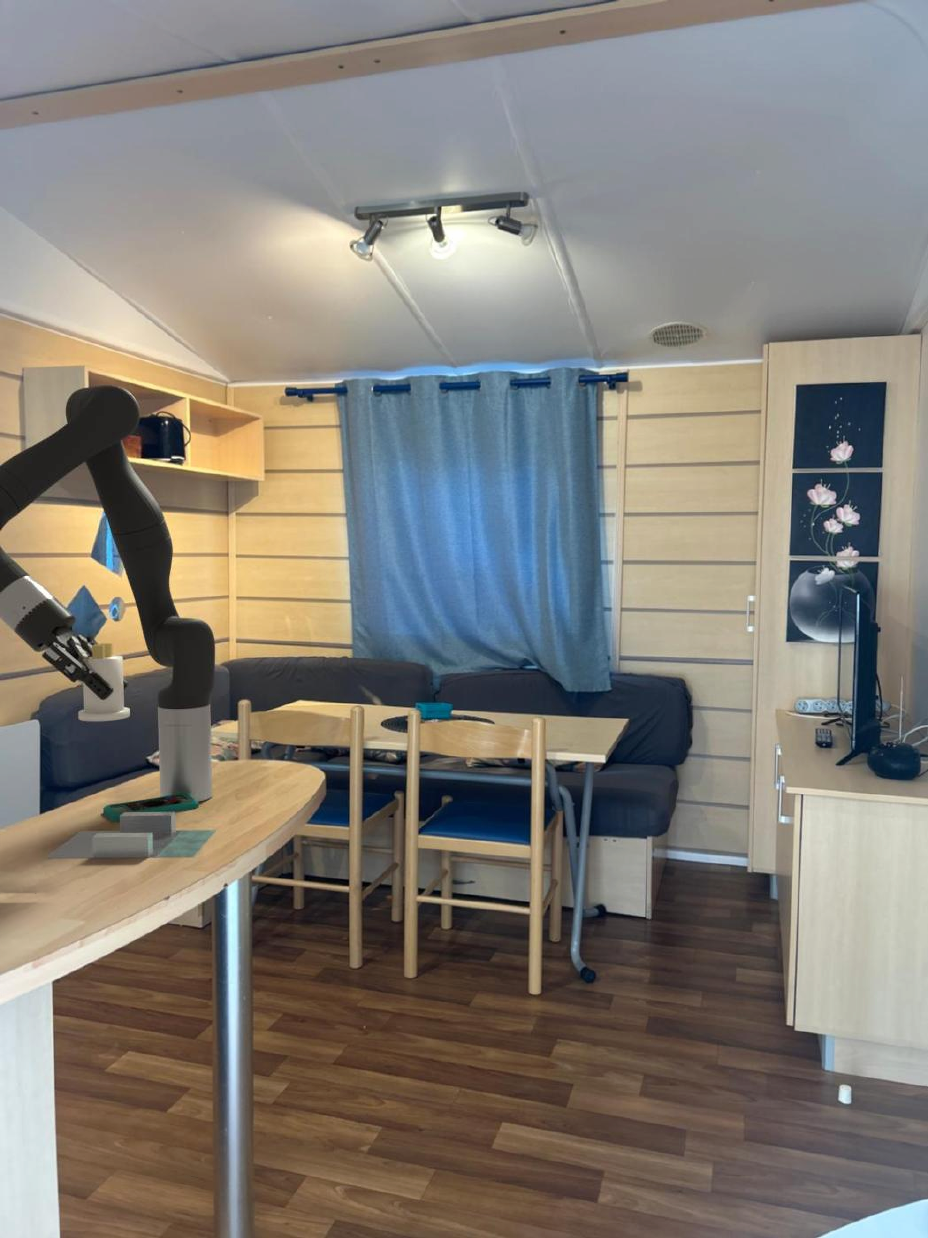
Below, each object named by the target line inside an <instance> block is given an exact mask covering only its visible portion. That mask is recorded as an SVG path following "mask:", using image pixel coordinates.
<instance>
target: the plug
mask: <svg viewBox="0 0 928 1238" xmlns="http://www.w3.org/2000/svg"><path fill="white" fill-rule="evenodd" d="M123 659H124V658H123V656H122V655H113V643H111V642H110V643H109V642H106V643H105V642H103V643H102V642H101V643H99V645H92V656H91V657H89V659H88V663H89V664H90V665H91V667H92V668H93V669H94V670H95V672H94V673H98V674H99V675H100V676H101V677H102V678H103V679H104V680H105V681H106V682H107V683H108V684H109V685H110V686H111V687H112V688H113V689H114V691H113V693H112V694H111V695H110V696H109V697H108V698H107V699H105V700H101V699H100V698H99V697H98V696H97V695H96V694H95V693H94V692H93V691H92V690H91V689H90V688H88V687H87V686H86V685H85V683H84V684H82V688H83V690H82V691H83V692H82V693H83V709H81V710H79V711H78V714H77V715H78V717H77V719H78V720H79V721H83V722H110V721H111V722H112V721H118V720H124V719H127V718H129V717H131V712H130V711H131V709H130V708H129V707H125V696H124V695H125V693H124V692H125V690H124V688H123V678H124V660H123ZM94 673H93V674H94Z"/></svg>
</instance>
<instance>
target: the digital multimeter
mask: <svg viewBox="0 0 928 1238" xmlns="http://www.w3.org/2000/svg"><path fill="white" fill-rule="evenodd" d="M198 808H199V802H197V800H196V799H194V798H193V797H191V796H189V795H187V794H184V793H180V794H174V795H168V796H163V797H160V796H157V797H153V798H146V799H140V800H139V799H138V800H133V801H128V802H127V801H126V802H117V803H113V804H107V805H105V806H104V807H103V808H102V809H103V810H102V811H103V815H104V816H105V817H107V819H108V820H110V821H111V822H113V823H120V815H122V814H123V813H124V812H175V813H176V812H177V813H178V812H183V811H188V810H195V809H198Z"/></svg>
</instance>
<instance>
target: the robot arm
mask: <svg viewBox="0 0 928 1238" xmlns="http://www.w3.org/2000/svg"><path fill="white" fill-rule="evenodd" d="M66 401H67V402H66V406H65V418H66V423H65V424H64V425H63V426H62V427H61V428H59V429H57V430H56V431H55V432H54V433H52V434H50V435H48V436H47V437H45V438H44V439H42V440H40V441H39V442H36V443H35V444H33V445H32V446H29V447H28V448H26V449H24V450H21V452H18V453H17V454H15V455H14V456H12V457H10V458H9V459H7V460H6V461H4V462H3V463H1V464H0V532H1V531H2V530H3V528H4V527H5V526H6V524H8V523H9V521H11V520H13V519H14V518H15V517H16V516H18V515H19V514H20V513H22V512H23V511H24V510H25V509H27V508H28V507H29V506H30V505H31V504H32V503H34V501H35V500H37V499H38V498H39V497H41V495H43V494H44V493H45V492H47V491H48V490H50V488H52V487H53V486H54V485H55V484H57V483H58V482H59V481H60V480H62V479H63V478H64V477H66V476H68V474H69V473H71V472H72V471H74V470H75V469H76V468H78V467H79V466H81V465H82V464H84V463H85V465H86V466H87V469H88V471H89V473H90V476H91V478H92V481H93V483H94V487H95V490H96V493H97V496H98V498H99V501H100V504H101V507H102V510H103V512H104V514H105V518H106V520H107V521H106V522H107V524H108V526H109V530H110V533H111V536H112V539H113V541H114V542H113V543H114V544H115V547H116V550H117V553H118V556H119V558H120V560H121V563H122V565H123V568H124V571H125V574H126V578H127V581H128V583H129V586H130V590H131V592H132V595H133V598H134V601H135V605H136V608H137V612H138V613H137V614H138V617H139V621H140V626H141V630H142V635H143V638H144V641H145V645H146V648H147V651H148V654H149V655H150V657H151V658H152V660H153V661H154V662H155V663H157V665H160V666H163V667H166V668H172V676H171V678H172V679H171V682H170V684H169V685H168V686H166V687H164V688H161V689H160V690H159V691H158V692H157V718H158V719H157V721H158V752H159V753H158V757H159V758H158V759H159V794H160V795H159V797H163V796H168V795H174V794H180V793H184V794H187V795H189V796H191V797H193V798H194V799H196V800H197V802H198V803H199V802H203V801H206V800H209V799H210V798H212V797H213V762H212V761H213V760H212V754H213V753H212V723H211V722H212V721H211V719H212V718H211V695H212V693H213V689H214V685H215V674H216V673H215V671H216V641H215V636H214V632H213V630H212V628H211V626H210V625H209V624H208V623H207V622H205V621H204V620H202V619H199V618H195V617H193V618H192V617H180V615H179V613H178V611H177V609H176V605H175V603H174V600H173V597H172V593H171V588H170V577H171V576H170V575H171V571H172V570H171V569H172V565H173V564H172V563H173V556H174V547H173V540H172V536H171V534H170V531H169V528H168V525H167V521H166V519H165V516H164V514H163V511H162V509H161V507H160V505H159V503H158V502H157V501H156V499H155V497H154V496H153V494H152V493H151V491H150V490H149V489H148V487H146V485H145V484H144V482H143V481H142V480H141V479H140V477H139V476H138V474H137V473H136V472H135V470H134V468H133V466H132V465H131V463H130V460H129V458H128V455H127V452H126V449H125V448H126V447H125V446H124V443H123V440H124V439H126V438H128V437H130V436H131V435H132V434H133V433H134V432H135V430H136V429H137V427H138V425H139V423H140V419H141V418H140V417H141V412H140V405H139V403H138V401H137V399H136V398H135V396H134V395H133V394H132V393H131V392H130V391H129V390H127V389H125V388H124V387H121V386H118V385H113V384H112V385H111V384H102V385H101V384H100V385H95V386H89V387H87V386H86V387H83V388H79V389H77V390H75V391H74V392H73V393H71V395H70V396H69V397H68V399H67V400H66ZM0 619H1V620H2V621H3V623H4V624H6V625H7V626H8V627H9V628H10V629H11V630H12V631H13V632H14V633H15V634H16V635H17V636H18V637H20V639H22V640H23V642H25V644H27V645H28V646H29V647H30V648H31V649H32V650H33V651H34V652H36V653H40V652H43V653H42V654H41V656H42V658H43V659H44V660H46V662H48V663H49V664H50V665H51V666H52V667H54V668H55V669H56V670H57V671H59V672H60V673H61V674H62V675H63V676H64V677H66V678H67V679H68V680H70V682H71V683H72V682H73V683H76V682H78V683H80V684H81V685H83V684H84V683H85V685H86V686H87V687H88V688H90V689H91V690H92V691H93V692H94V693H95V694H96V695H97V696H98V697H99V698H100V699H101V700H105V699H107V698H108V697H109V696H110V695H111V694H112V693H113V691H114V689H113V688H112V687H111V686H110V685H109V684H108V683H107V682H106V681H105V680H104V679H103V678H102V677H101V676H100V675H99V674H98V673H94V672H95V670H94V669H93V668H92V667H91V665H90V664H89V663H88V659H89V657H91V656H92V645H100V643H98V641H97V640H96V639H95V638H94V637H93V636H92V635H90V634H88V635H87V636H86V637H85V636H83V635H82V634H78V633H77V632H75V631H73V626H74V624H75V622H76V617H75V614H73V613H72V612H71V611H70V610H69V609H68V608H67V607H66V606H65V605H63V604H62V602H61V601H60V600H58V599H57V598H56V597H55V596H54V595H53V594H52V593H51V592H50V591H49V590H48V589H47V588H46V587H45V586H43V585H42V584H41V583H40V582H39V581H37V580H36V579H34V578H33V577H32V576H31V575H30V574H29V573H28V572H27V571H26V570H24V568H22V566H21V565H20V564H19V563H17V562H16V561H15V560H14V559H12V558H11V557H10V556H9V555H8V554H7V553H6V551H5V550H4V549H3V548H2V546H1V545H0ZM93 673H94V674H93ZM128 686H129V682H128V681H127V680H126V679H125V678H124V677H123V688H124V691H125V690H126V689H127V688H128Z"/></svg>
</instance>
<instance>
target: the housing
mask: <svg viewBox="0 0 928 1238" xmlns="http://www.w3.org/2000/svg"><path fill="white" fill-rule="evenodd" d="M216 832H217V830H216V829H202V830H201V829H198V830H197V829H195V830H194V829H191V830H190V829H187V830H182V829H181V830H179V829H178V830H177V829H176V812H124V813H123V814H122V815H120V822H119V830H82V831H81V830H80V831H79V832H78V833H76V834H75V835H74V836H72V837H71V838H69V839H68V840H67V841H65V842H64V843H63V844H61V845H60V846H59V847H57V848H56V849H55V850H53V851H52V852H51V853H50V854H48V855H47V856H45V857H44V859H122V858H123V859H128V858H129V859H130V858H131V859H132V858H133V859H135V858H137V859H138V858H139V859H140V858H142V859H144V858H145V859H146V858H147V859H149V858H194V857H195V856H196V855H198V853H199V852H200V850H201V849H202V848H203V847H204V845H206V843H207V842H208V841H209V840H210V839H211V838H212V836H214V834H215V833H216Z"/></svg>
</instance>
